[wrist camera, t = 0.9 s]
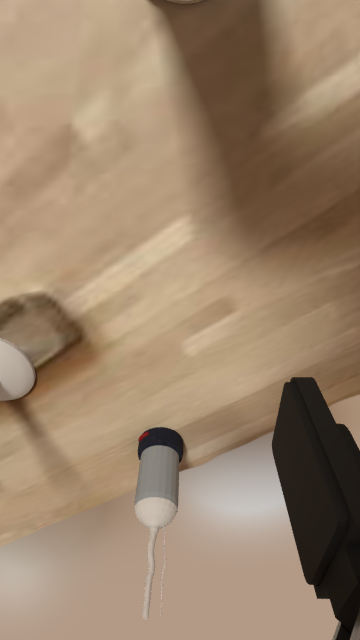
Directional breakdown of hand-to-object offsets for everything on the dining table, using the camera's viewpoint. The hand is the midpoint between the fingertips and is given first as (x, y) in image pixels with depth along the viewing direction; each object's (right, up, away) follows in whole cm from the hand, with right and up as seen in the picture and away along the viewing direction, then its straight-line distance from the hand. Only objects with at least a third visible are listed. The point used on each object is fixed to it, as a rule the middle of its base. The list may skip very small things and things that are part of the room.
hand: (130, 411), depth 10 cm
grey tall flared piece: (-2, -20, +50) cm, 54 cm away
